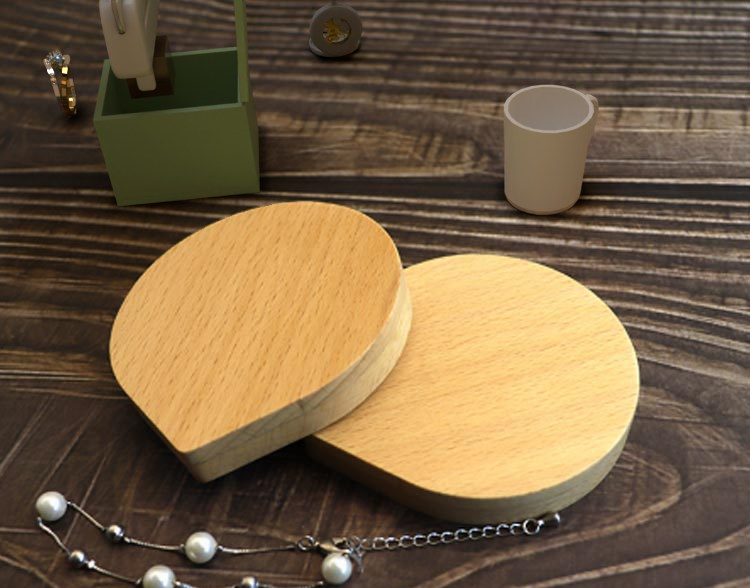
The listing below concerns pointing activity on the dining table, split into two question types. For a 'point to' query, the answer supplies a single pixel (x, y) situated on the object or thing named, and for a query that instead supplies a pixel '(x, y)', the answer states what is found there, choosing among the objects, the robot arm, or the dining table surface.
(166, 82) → the block
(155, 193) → the chest
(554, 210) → the mug
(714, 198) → the dining table surface
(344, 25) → the pocket watch
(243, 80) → the lid
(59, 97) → the ring
